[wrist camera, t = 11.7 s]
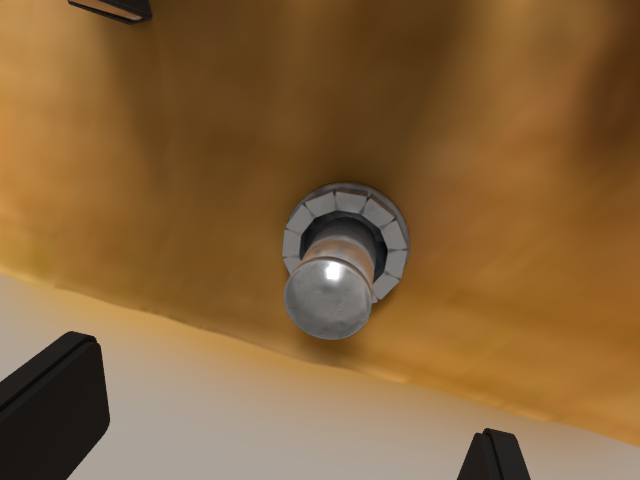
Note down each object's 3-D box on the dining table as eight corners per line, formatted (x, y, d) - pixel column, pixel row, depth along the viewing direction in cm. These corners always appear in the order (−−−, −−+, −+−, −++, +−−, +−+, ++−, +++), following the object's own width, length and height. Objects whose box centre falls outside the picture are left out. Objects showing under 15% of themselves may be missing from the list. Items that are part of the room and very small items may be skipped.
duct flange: (265, 247, 30) (255, 259, 28) (335, 154, 26) (330, 160, 24) (356, 317, 30) (353, 333, 28) (436, 235, 27) (439, 247, 25)
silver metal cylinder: (317, 210, 27) (287, 253, 20) (384, 221, 26) (378, 270, 19) (310, 270, 29) (280, 329, 21) (372, 281, 28) (363, 347, 21)
